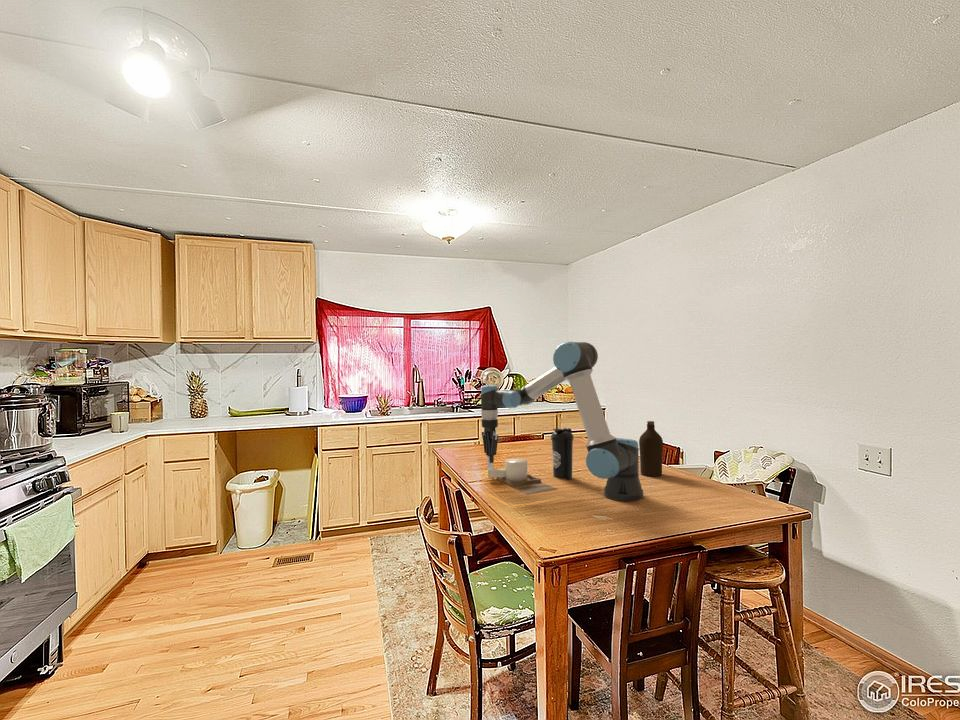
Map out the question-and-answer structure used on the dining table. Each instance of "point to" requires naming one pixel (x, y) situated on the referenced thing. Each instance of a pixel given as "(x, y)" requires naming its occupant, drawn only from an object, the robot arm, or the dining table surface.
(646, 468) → the olive oil
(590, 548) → the dining table surface
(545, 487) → the brown flat rectangular tray
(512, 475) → the white pot with handle
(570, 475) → the water bottle
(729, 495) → the dining table surface
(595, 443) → the robot arm
